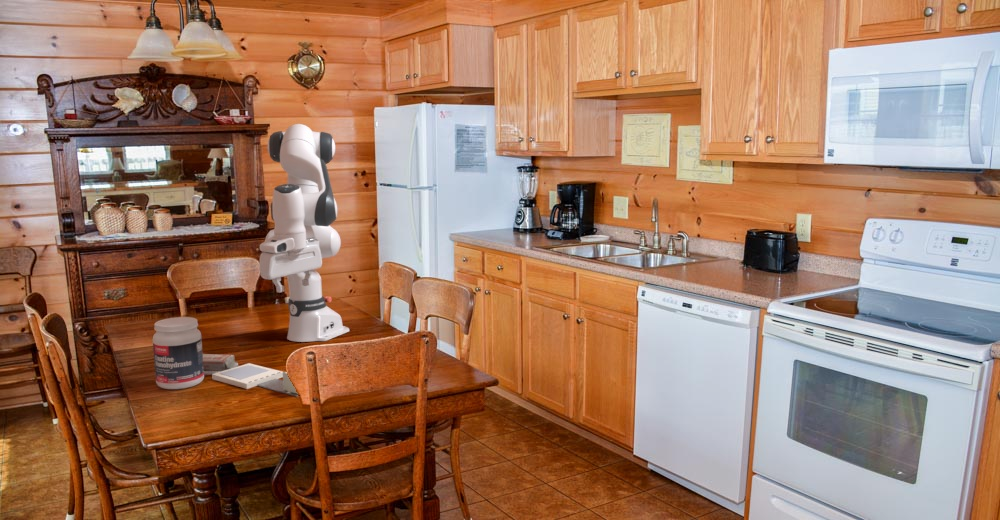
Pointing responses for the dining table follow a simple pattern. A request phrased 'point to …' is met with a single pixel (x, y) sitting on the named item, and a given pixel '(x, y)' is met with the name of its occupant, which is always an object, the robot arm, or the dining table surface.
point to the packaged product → (218, 363)
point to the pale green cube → (288, 383)
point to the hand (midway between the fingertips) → (293, 288)
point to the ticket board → (253, 378)
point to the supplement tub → (178, 353)
